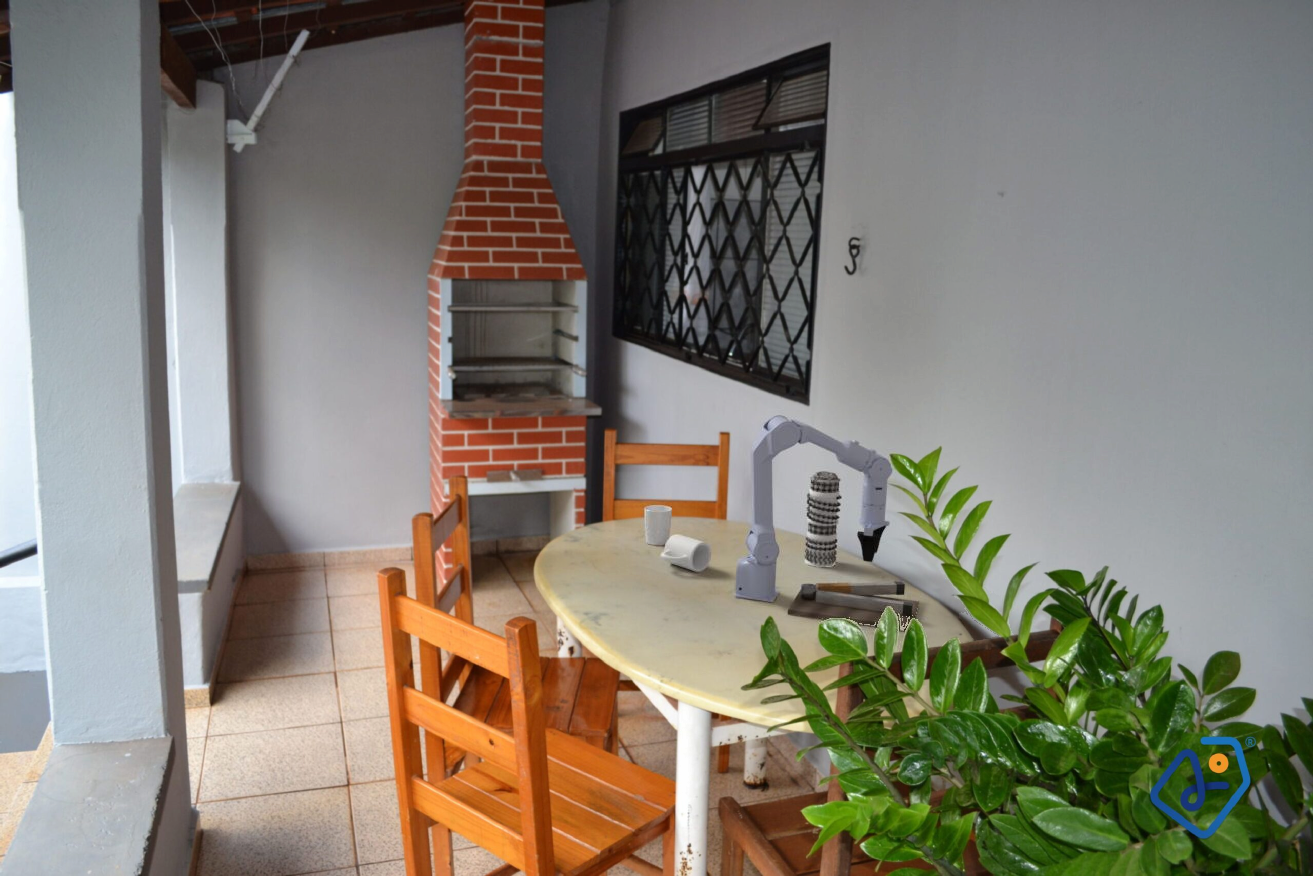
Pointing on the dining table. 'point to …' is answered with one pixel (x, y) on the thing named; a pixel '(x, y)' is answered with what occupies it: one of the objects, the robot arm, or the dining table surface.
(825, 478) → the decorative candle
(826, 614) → the walnut board
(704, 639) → the dining table surface
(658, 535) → the white cup
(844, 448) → the robot arm
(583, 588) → the dining table surface
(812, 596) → the tong arm
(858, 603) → the grey long bar
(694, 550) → the mug
